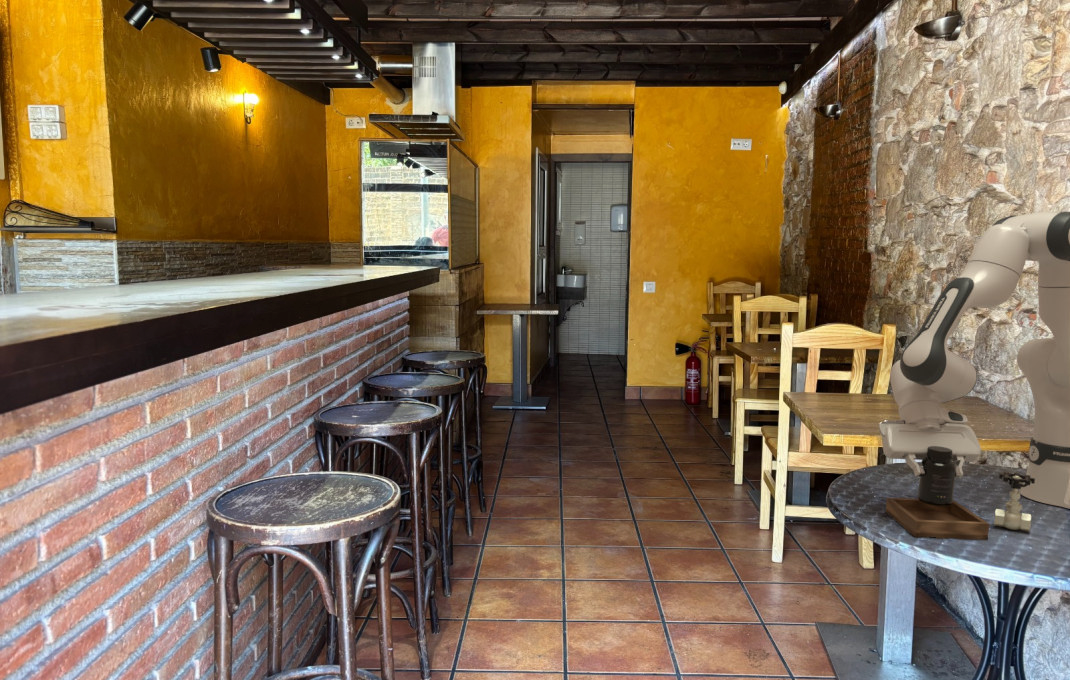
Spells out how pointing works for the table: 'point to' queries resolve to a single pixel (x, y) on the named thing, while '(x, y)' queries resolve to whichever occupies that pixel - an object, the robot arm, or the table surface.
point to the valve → (1014, 504)
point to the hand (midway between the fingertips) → (939, 475)
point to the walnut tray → (937, 519)
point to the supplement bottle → (937, 477)
